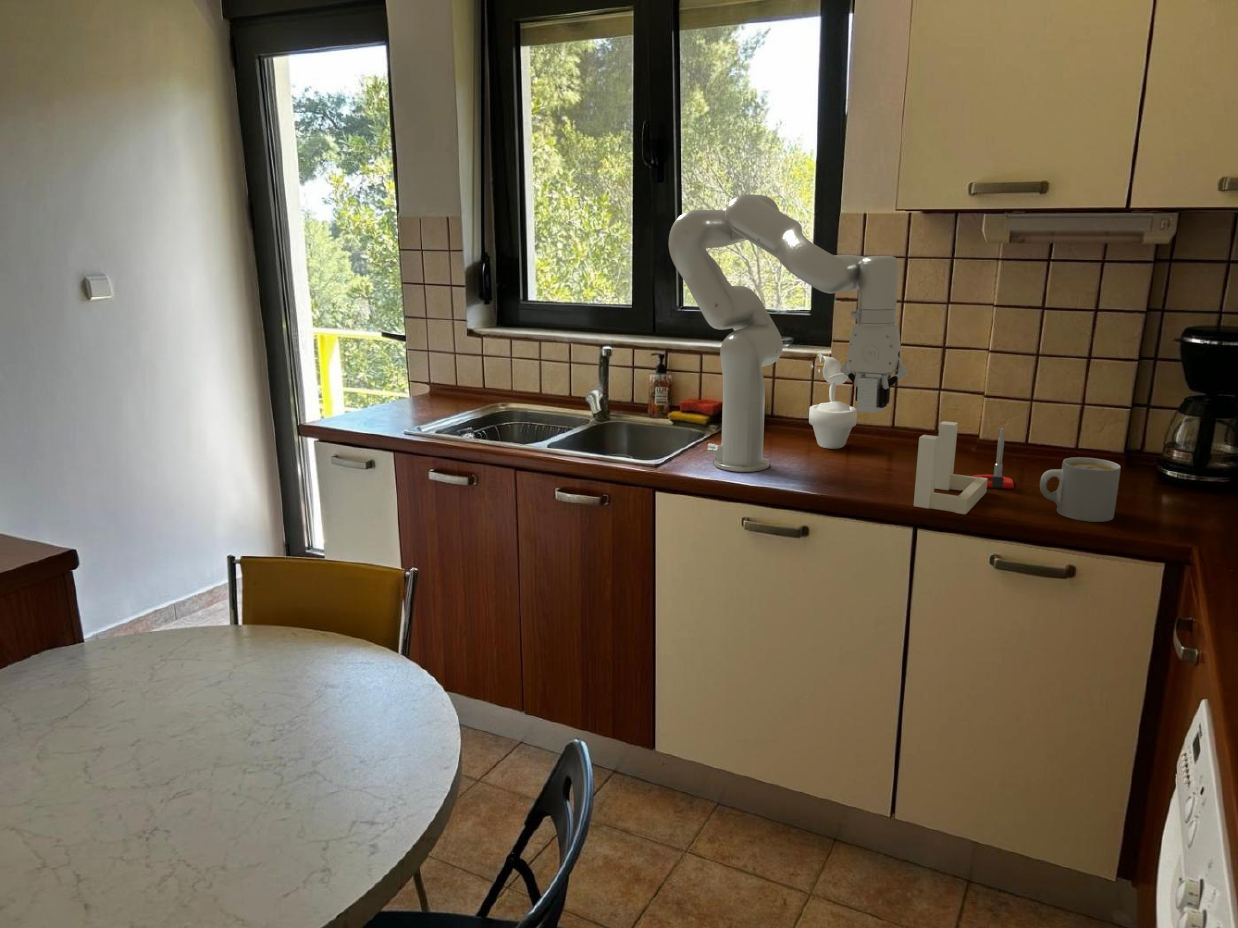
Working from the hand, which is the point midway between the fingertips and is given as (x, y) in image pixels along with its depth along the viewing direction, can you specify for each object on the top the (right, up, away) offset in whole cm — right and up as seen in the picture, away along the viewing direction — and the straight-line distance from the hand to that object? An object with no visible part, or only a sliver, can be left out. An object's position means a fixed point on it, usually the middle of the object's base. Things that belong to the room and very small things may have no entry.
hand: (872, 405), depth 192 cm
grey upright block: (0, -1, 0) cm, 1 cm away
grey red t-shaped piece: (+28, -17, +7) cm, 33 cm away
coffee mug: (+36, -22, -13) cm, 44 cm away
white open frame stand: (+15, -19, -5) cm, 25 cm away
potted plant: (+1, -8, +39) cm, 40 cm away
